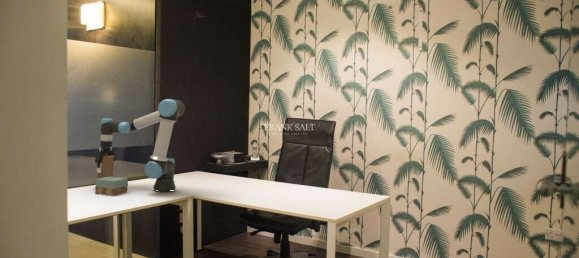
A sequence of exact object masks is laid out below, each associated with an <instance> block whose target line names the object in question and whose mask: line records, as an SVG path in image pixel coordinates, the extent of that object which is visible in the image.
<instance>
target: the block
mask: <svg viewBox="0 0 579 258" xmlns="http://www.w3.org/2000/svg"><path fill="white" fill-rule="evenodd" d="M101 163H102V166H101V173H97V172H96V179H99V178H104V177H110V176H111V177H114V163H115V161H114V156H113V155H107V154H106V155H104V156H103V159H102V161H101Z"/></svg>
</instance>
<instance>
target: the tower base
mask: <svg viewBox="0 0 579 258" xmlns="http://www.w3.org/2000/svg"><path fill="white" fill-rule="evenodd" d="M94 190H95V192H94V194H95V195H100V194H101V195H102V196H109V195H110V196H111V197H117V196H119V195H123V193H124V194H126V192H127V193H128V186H125V187H121V188H116V189H110V188H102V187H95V189H94Z"/></svg>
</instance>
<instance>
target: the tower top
mask: <svg viewBox="0 0 579 258" xmlns="http://www.w3.org/2000/svg"><path fill="white" fill-rule="evenodd" d="M125 186H127V187H128V186H129V178H128V177H127V178H126V177H118V176H113V177H111V176H110V177H104V178H99V179H97V178H95V187H102V188H110V189H116V188H121V187H125Z"/></svg>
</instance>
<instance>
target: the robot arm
mask: <svg viewBox="0 0 579 258" xmlns="http://www.w3.org/2000/svg"><path fill="white" fill-rule="evenodd" d="M157 106H158V107H157V109H158V110H156V111H154V112H151V113H148V114H146V115H142V116H141V117H139V118H136V119H133V120H130V121H114V119H113V118H102V119H101V120H100V142H99V143H100V144H99V145H100V148H99V147H98V149H97V153H96V157H95V159H94V163H96V174H97V173H101V166H102V163H101V161H102V159H103V156H104V155H113V156H114V162H115V161H116V154H115V151H114V150H115V149H114V147H113V133H114V134H117V133H118V134H128V133H131V134H132V133H136V132H137V131H139V130H141V129H144V128H146V127H149V126H152V125H154V124H157V123H159V127H158V130H157V135H156V139H155V144H154V148H153V153H152V155H150V156H149V160H148V162H147V163H146V164H145V165H144V173H145V175H146V176H147V177H148V178H149V179H152V180H153V179H155V182H154V185H153V187H152V188H153V189H154V190H158V191H170V190H175V189H176V188H177V187H176V184H175V180H174V177H175V165H176V164H175V163H176V162H175V158H172V157H171V158H169V157H167V156H168V155H167V154H168V148H169V146H170V141H171V137H172V133H173V128H174V125H175V123H177V122H178V117H181V116H182V115H183V114H184V113H185V104H184V103H183V101H181V100H179V99H172V98H167V99H162V101H160V102H159V104H158V105H157ZM154 190H153V191H154ZM175 191H176V190H175Z"/></svg>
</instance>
